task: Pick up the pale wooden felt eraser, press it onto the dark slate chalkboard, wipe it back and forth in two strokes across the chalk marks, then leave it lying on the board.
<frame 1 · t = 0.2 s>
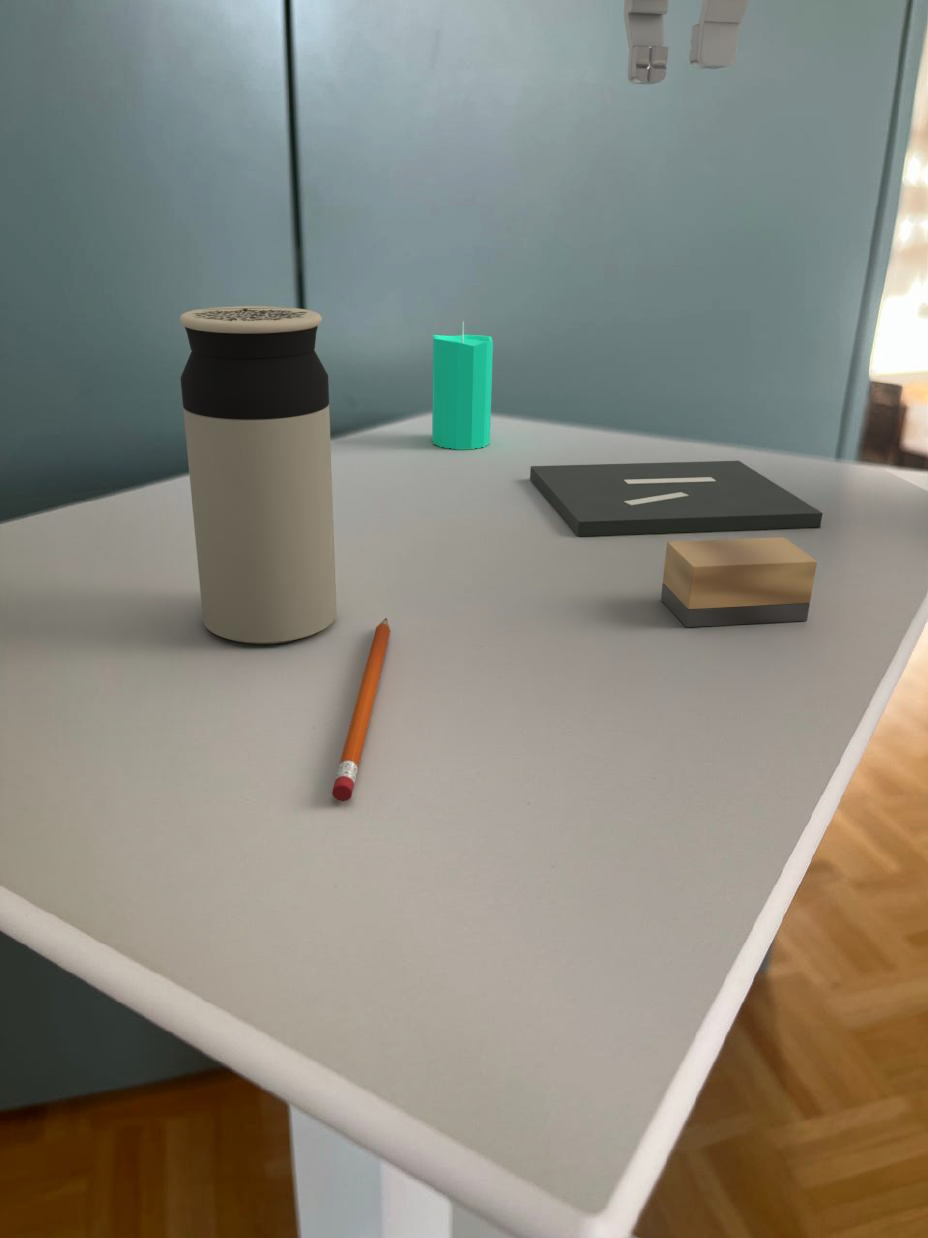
hand: (675, 76, 52), 30 cm above the table, tool pointing down, fingers open, 8 cm apart
slate board: (665, 501, 85), on the table
travel mug: (271, 623, 61), on the table
candle: (460, 444, 103), on the table
eraser: (732, 610, 64), on the table
pencil: (368, 701, 52), on the table
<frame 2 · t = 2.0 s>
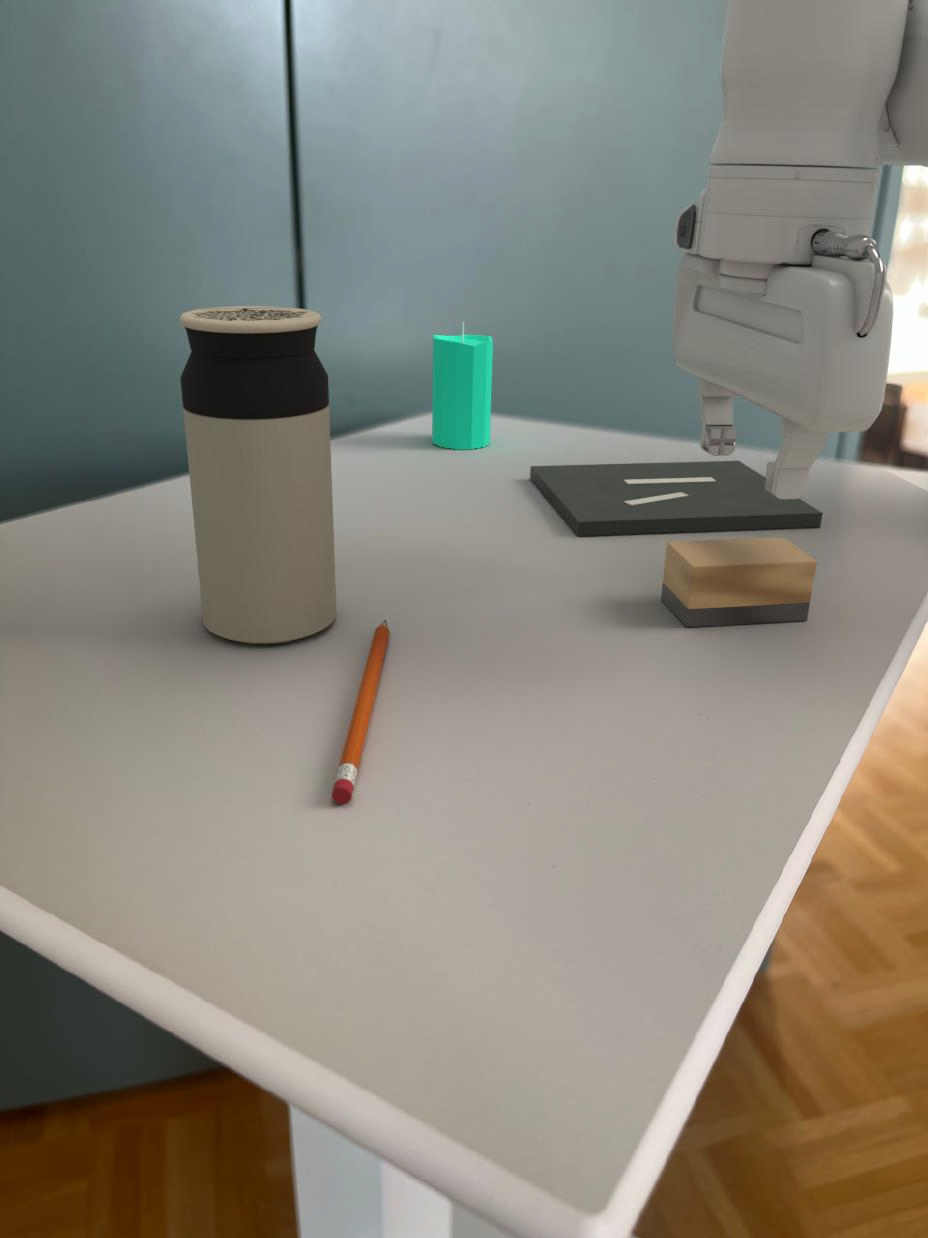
hand: (747, 472, 60), 9 cm above the table, tool pointing down, fingers open, 8 cm apart
nothing on the table moved.
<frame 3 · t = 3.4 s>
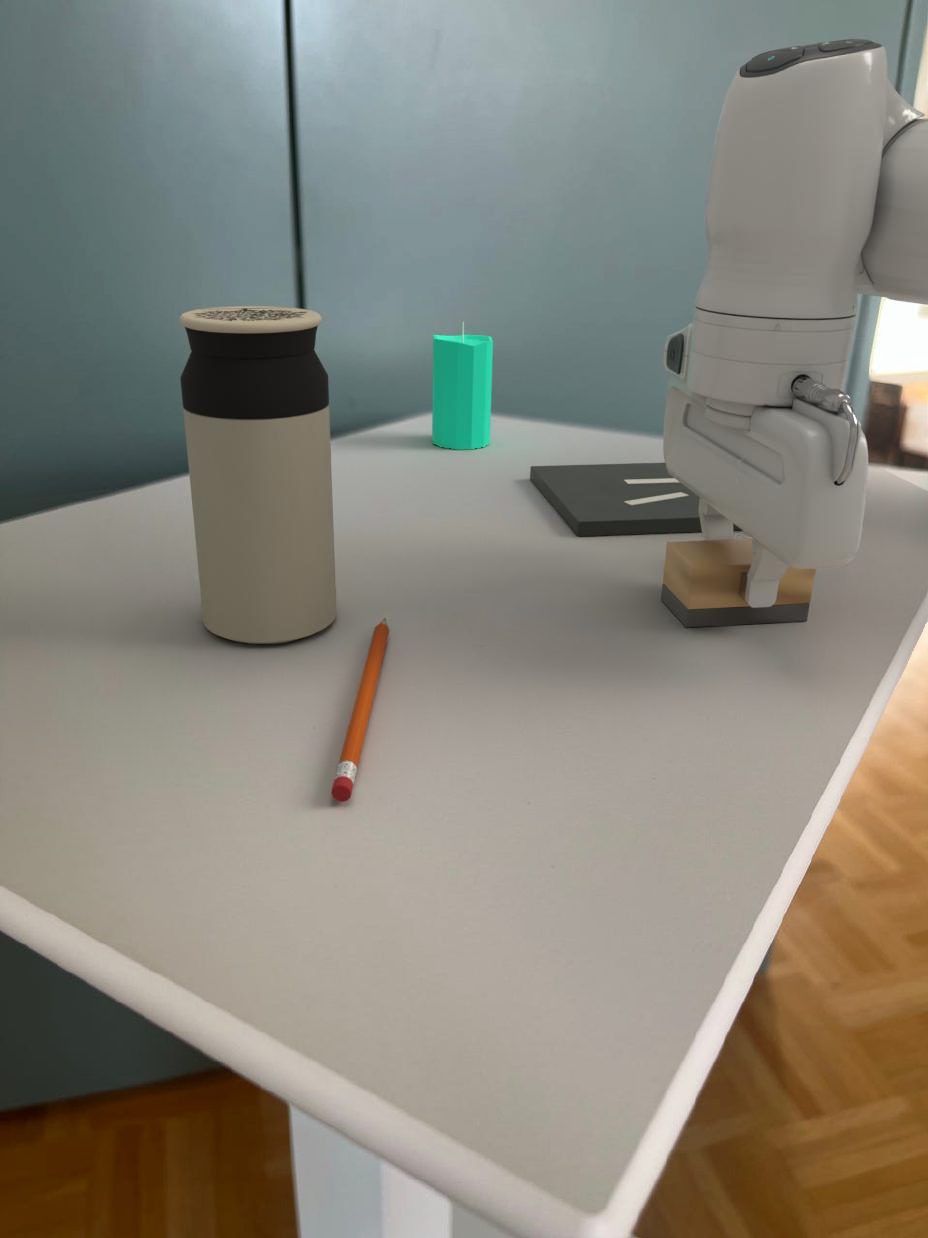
hand: (735, 584, 63), 2 cm above the table, tool pointing down, fingers closed on eraser, 4 cm apart
eraser: (732, 610, 64), on the table, touching gripper
everything else where it was.
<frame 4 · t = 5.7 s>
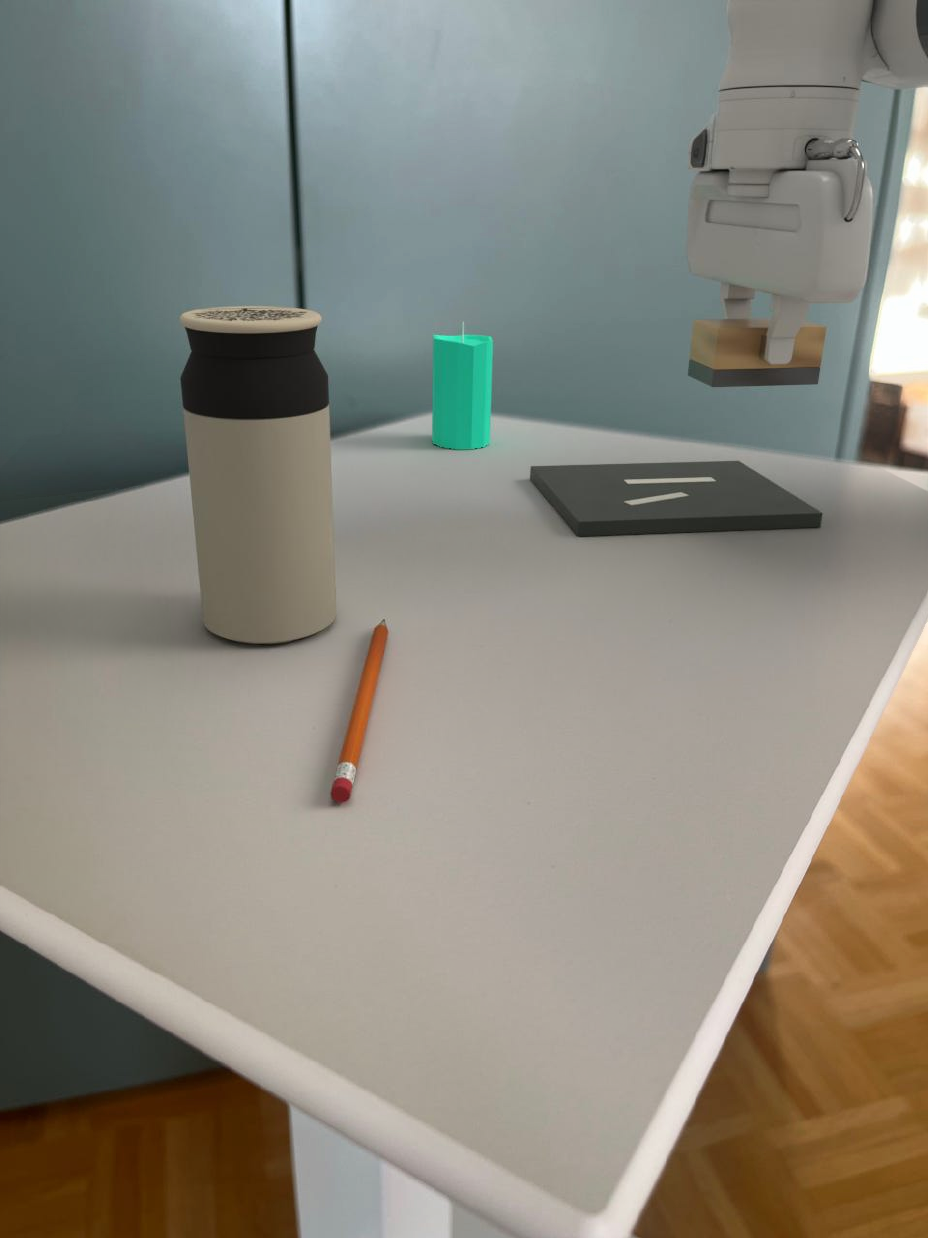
hand: (754, 355, 72), 14 cm above the table, tool pointing down, fingers closed on eraser, 4 cm apart
eraser: (751, 379, 72), point 12 cm above the table, touching gripper
everything else where it was.
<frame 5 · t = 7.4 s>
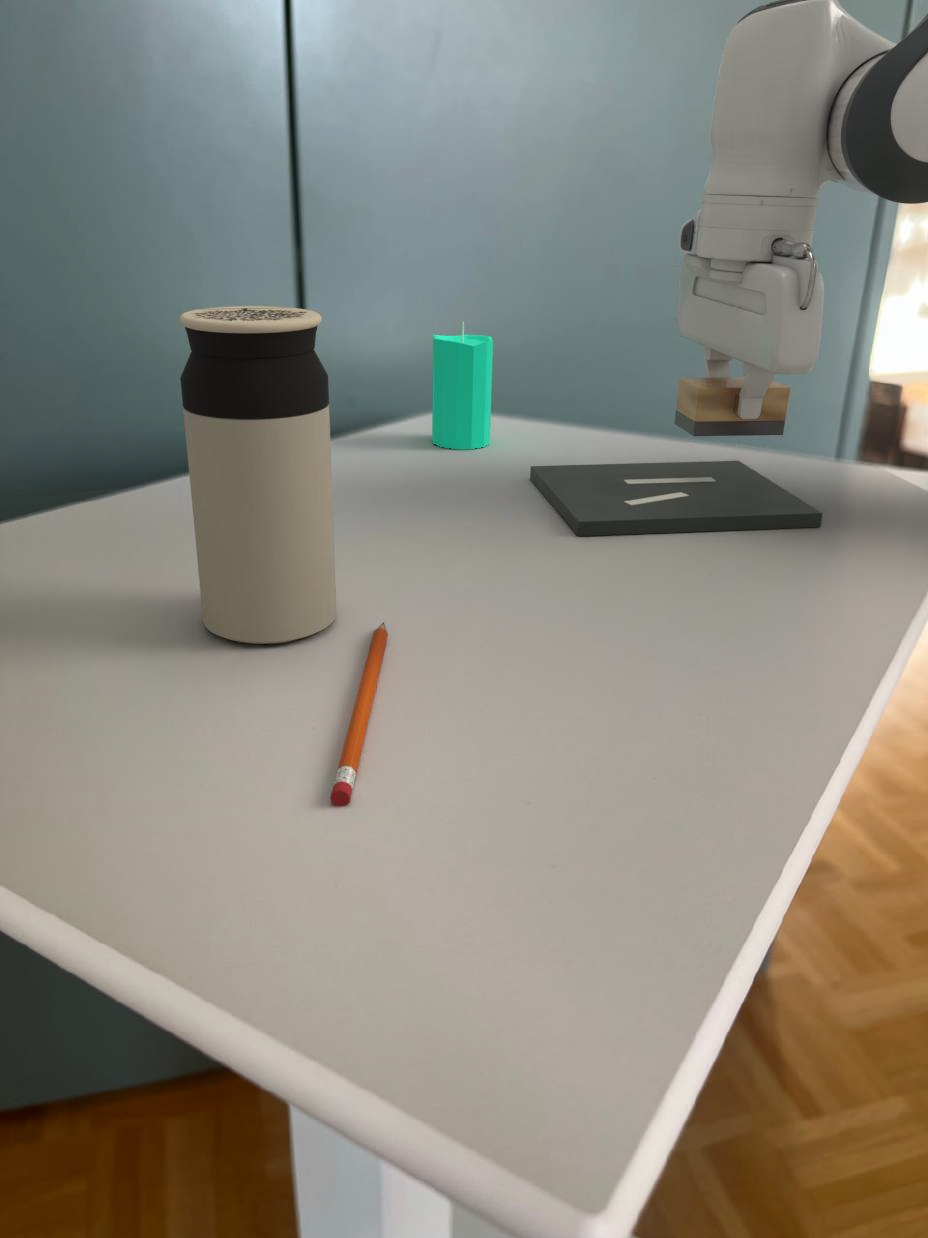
hand: (731, 409, 85), 7 cm above the table, tool pointing down, fingers closed on eraser, 4 cm apart
eraser: (727, 429, 86), point 6 cm above the table, touching gripper
everything else where it was.
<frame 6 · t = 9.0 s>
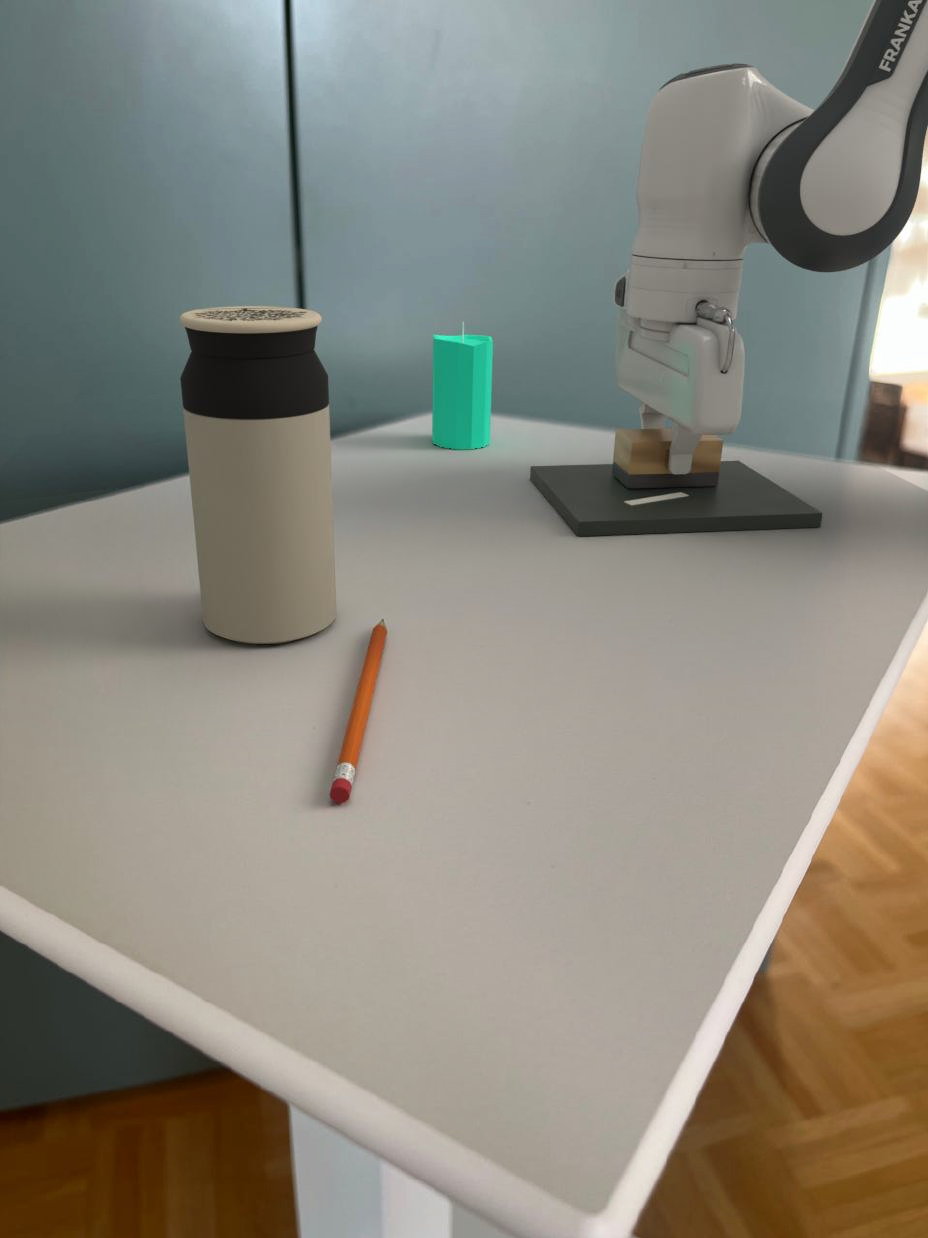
hand: (664, 462, 86), 3 cm above the table, tool pointing down, fingers closed on eraser, 4 cm apart
eraser: (663, 480, 87), point 1 cm above the table, touching gripper
everything else where it was.
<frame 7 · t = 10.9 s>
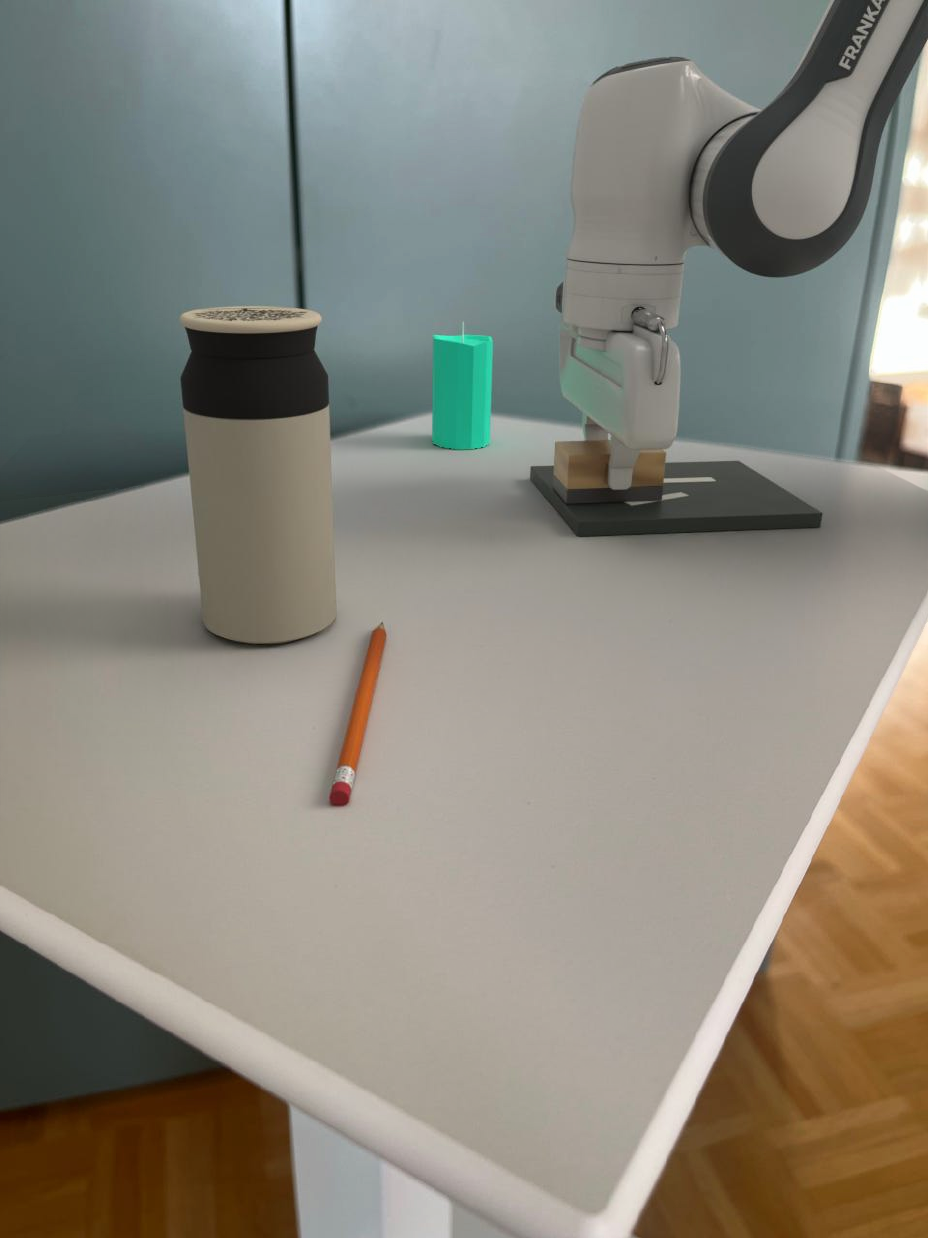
hand: (606, 476, 82), 3 cm above the table, tool pointing down, fingers closed on eraser, 4 cm apart
eraser: (606, 494, 82), point 1 cm above the table, touching gripper
everything else where it was.
when the fingers open (2 cm above the table, at t = 15.3 s): eraser stays where it is, resting on slate board.
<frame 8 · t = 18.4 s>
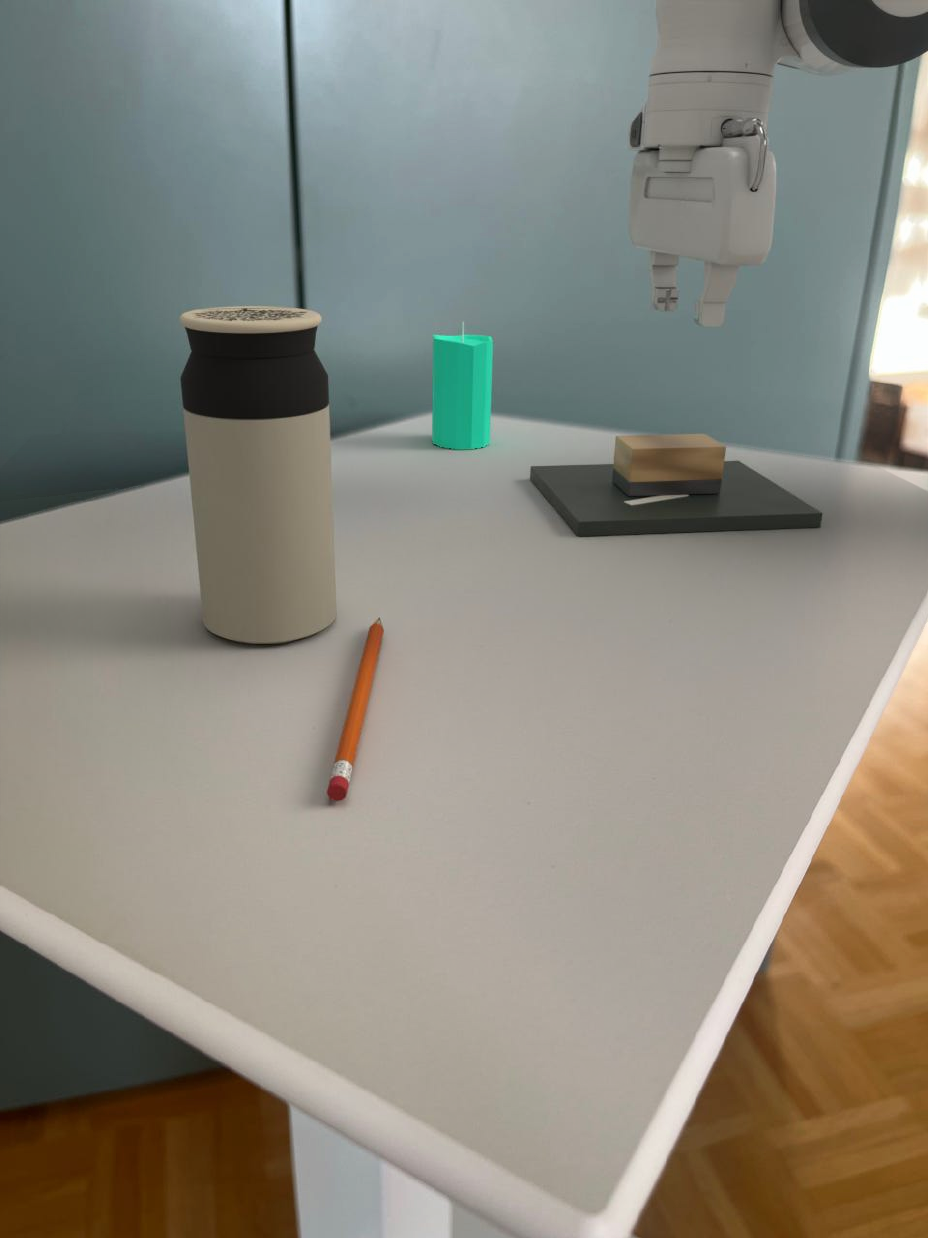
hand: (684, 317, 79), 15 cm above the table, tool pointing down, fingers open, 8 cm apart
eraser: (665, 487, 85), point 1 cm above the table, touching slate board
everything else where it was.
at the end: eraser inside the target area on the slate board (0.2 cm from its centre), point 1.3 cm above the slate board's base; eraser moved 23.3 cm from its start; the gripper is holding nothing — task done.
